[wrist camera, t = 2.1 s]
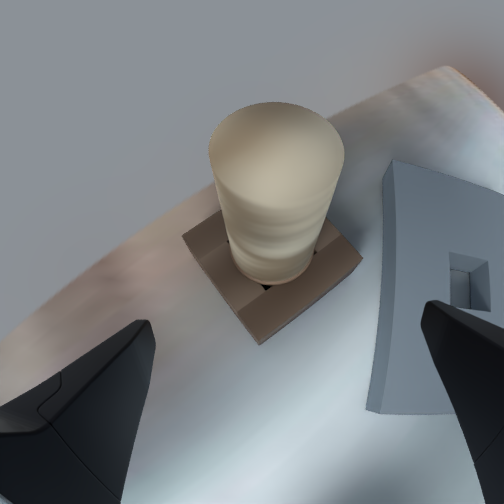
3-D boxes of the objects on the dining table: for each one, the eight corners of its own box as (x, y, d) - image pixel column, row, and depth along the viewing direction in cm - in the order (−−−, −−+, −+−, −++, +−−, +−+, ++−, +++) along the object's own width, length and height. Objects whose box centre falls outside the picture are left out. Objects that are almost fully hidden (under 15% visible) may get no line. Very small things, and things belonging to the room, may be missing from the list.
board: (498, 407, 17) (519, 406, 15) (365, 409, 19) (380, 413, 16) (493, 211, 25) (508, 196, 22) (382, 179, 26) (392, 159, 24)
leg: (320, 253, 24) (367, 136, 12) (281, 312, 22) (302, 232, 10) (261, 217, 25) (258, 87, 13) (219, 271, 23) (177, 160, 11)
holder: (352, 272, 23) (363, 258, 20) (259, 345, 21) (258, 341, 18) (280, 193, 26) (281, 171, 23) (190, 252, 24) (181, 235, 21)
